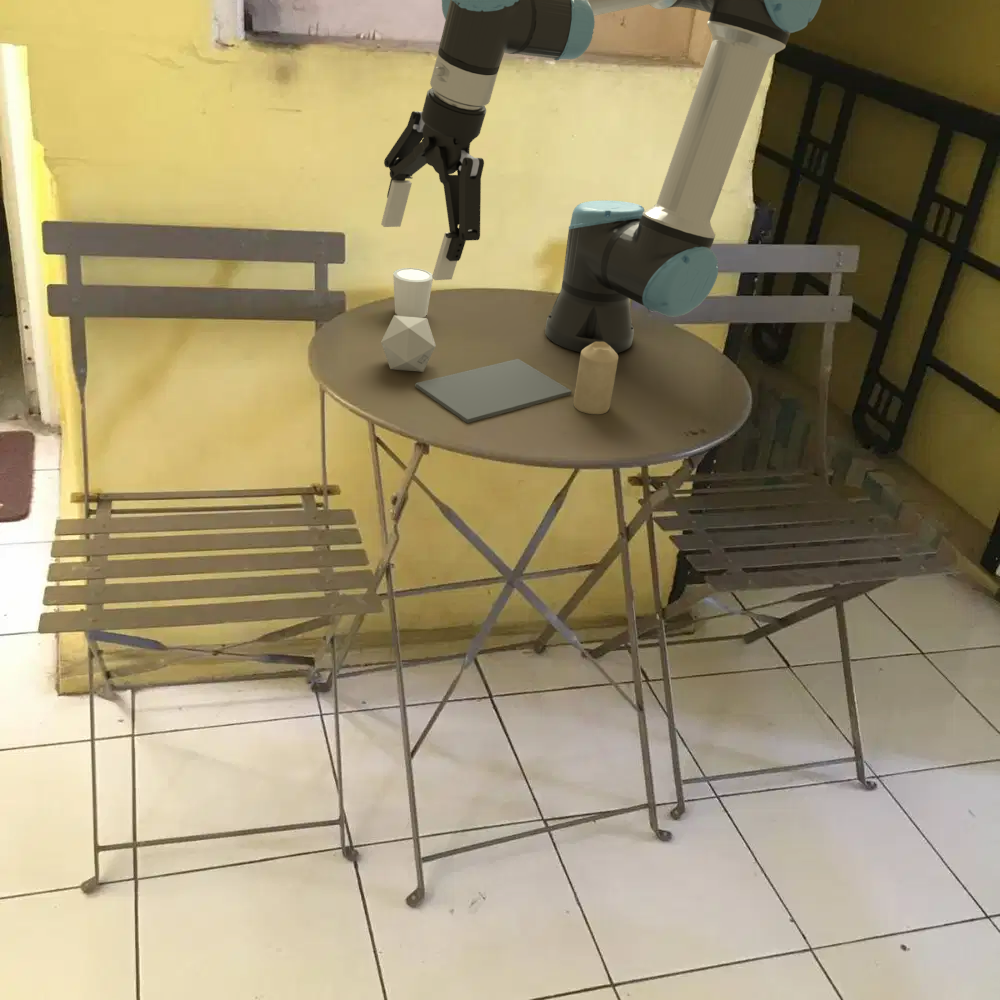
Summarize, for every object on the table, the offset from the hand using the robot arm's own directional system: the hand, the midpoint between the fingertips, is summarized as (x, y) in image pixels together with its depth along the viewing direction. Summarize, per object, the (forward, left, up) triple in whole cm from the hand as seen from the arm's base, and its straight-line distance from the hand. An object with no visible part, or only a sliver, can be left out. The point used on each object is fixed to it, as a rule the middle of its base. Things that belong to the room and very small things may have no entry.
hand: (415, 251), depth 137 cm
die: (-6, -9, -22) cm, 25 cm away
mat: (-13, +4, -22) cm, 26 cm away
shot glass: (-19, -27, -22) cm, 40 cm away
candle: (-23, +15, -22) cm, 36 cm away
